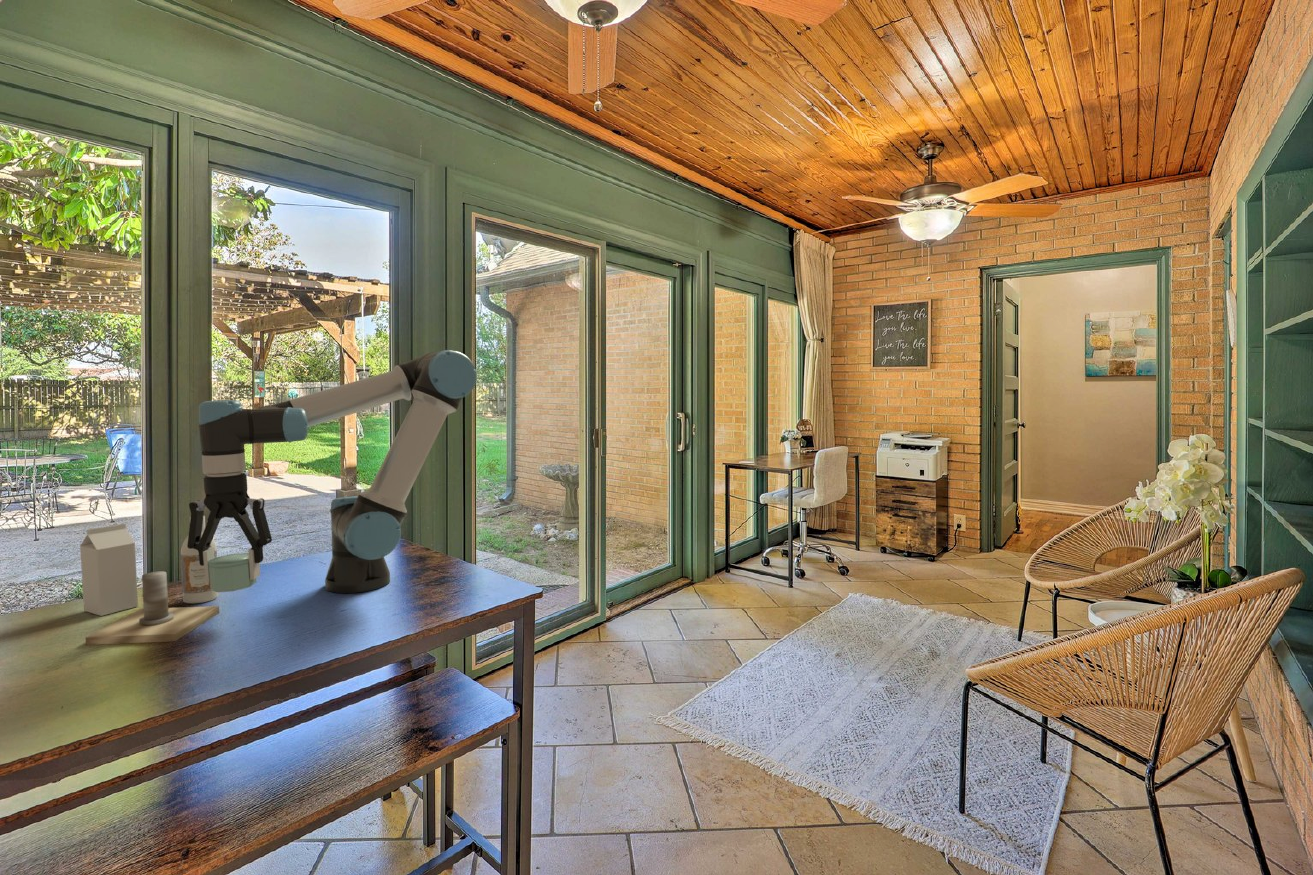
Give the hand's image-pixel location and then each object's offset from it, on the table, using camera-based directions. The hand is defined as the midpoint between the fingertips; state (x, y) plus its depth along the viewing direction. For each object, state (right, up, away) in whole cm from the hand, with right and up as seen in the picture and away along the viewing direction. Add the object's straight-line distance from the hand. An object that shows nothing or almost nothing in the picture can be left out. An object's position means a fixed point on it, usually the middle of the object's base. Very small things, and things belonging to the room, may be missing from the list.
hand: (233, 578), depth 135 cm
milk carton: (-33, -9, +8) cm, 35 cm away
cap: (0, -2, 0) cm, 2 cm away
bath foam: (-18, -9, +15) cm, 25 cm away
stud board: (-14, -10, -3) cm, 18 cm away
